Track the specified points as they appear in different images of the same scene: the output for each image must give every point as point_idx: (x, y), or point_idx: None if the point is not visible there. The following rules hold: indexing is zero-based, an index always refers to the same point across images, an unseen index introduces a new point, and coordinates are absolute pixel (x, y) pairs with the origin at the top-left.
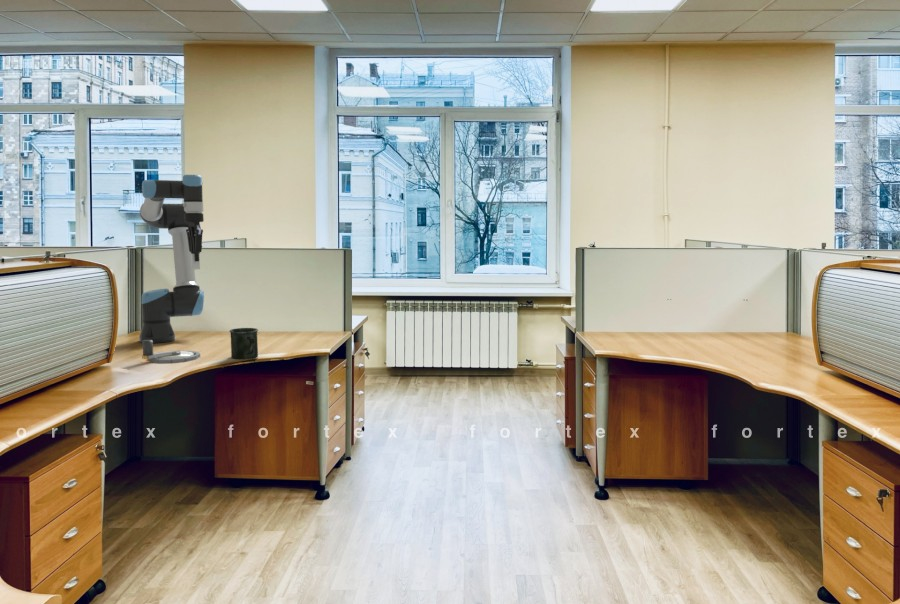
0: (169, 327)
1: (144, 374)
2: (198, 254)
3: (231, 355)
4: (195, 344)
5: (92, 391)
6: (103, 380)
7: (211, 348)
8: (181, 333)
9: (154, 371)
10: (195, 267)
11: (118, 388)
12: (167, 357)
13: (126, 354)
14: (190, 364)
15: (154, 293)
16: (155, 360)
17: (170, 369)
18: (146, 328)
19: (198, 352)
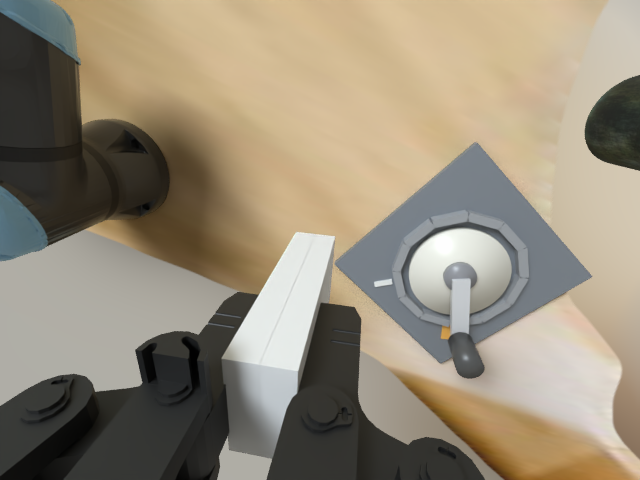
0: (113, 148)
1: (538, 366)
2: (356, 398)
3: (611, 163)
4: (250, 113)
5: (588, 461)
6: (518, 422)
7: (353, 106)
8: None
9: (528, 343)
10: (329, 290)
11: (611, 436)
12: (482, 303)
13: None
14: None
15: (12, 238)
16: (469, 322)
17: (542, 315)
18: (119, 217)
19: (480, 216)
